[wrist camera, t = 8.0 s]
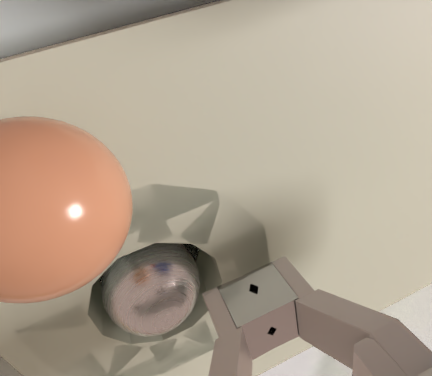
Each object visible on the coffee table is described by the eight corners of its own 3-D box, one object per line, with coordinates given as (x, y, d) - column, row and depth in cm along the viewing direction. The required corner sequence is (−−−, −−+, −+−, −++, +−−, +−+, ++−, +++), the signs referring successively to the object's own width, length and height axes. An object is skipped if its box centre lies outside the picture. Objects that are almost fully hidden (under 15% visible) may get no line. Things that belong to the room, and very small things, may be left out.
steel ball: (78, 243, 11) (89, 316, 8) (167, 204, 12) (203, 257, 9) (116, 301, 13) (134, 377, 10) (189, 263, 14) (224, 322, 11)
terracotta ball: (-81, 128, 6) (-237, 221, 3) (90, 78, 7) (89, 118, 4) (16, 251, 8) (-27, 380, 5) (143, 202, 9) (170, 293, 6)
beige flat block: (-157, 100, 7) (-254, 130, 5) (468, -66, 11) (554, -87, 9) (107, 397, 16) (110, 453, 14) (411, 247, 20) (449, 274, 17)
